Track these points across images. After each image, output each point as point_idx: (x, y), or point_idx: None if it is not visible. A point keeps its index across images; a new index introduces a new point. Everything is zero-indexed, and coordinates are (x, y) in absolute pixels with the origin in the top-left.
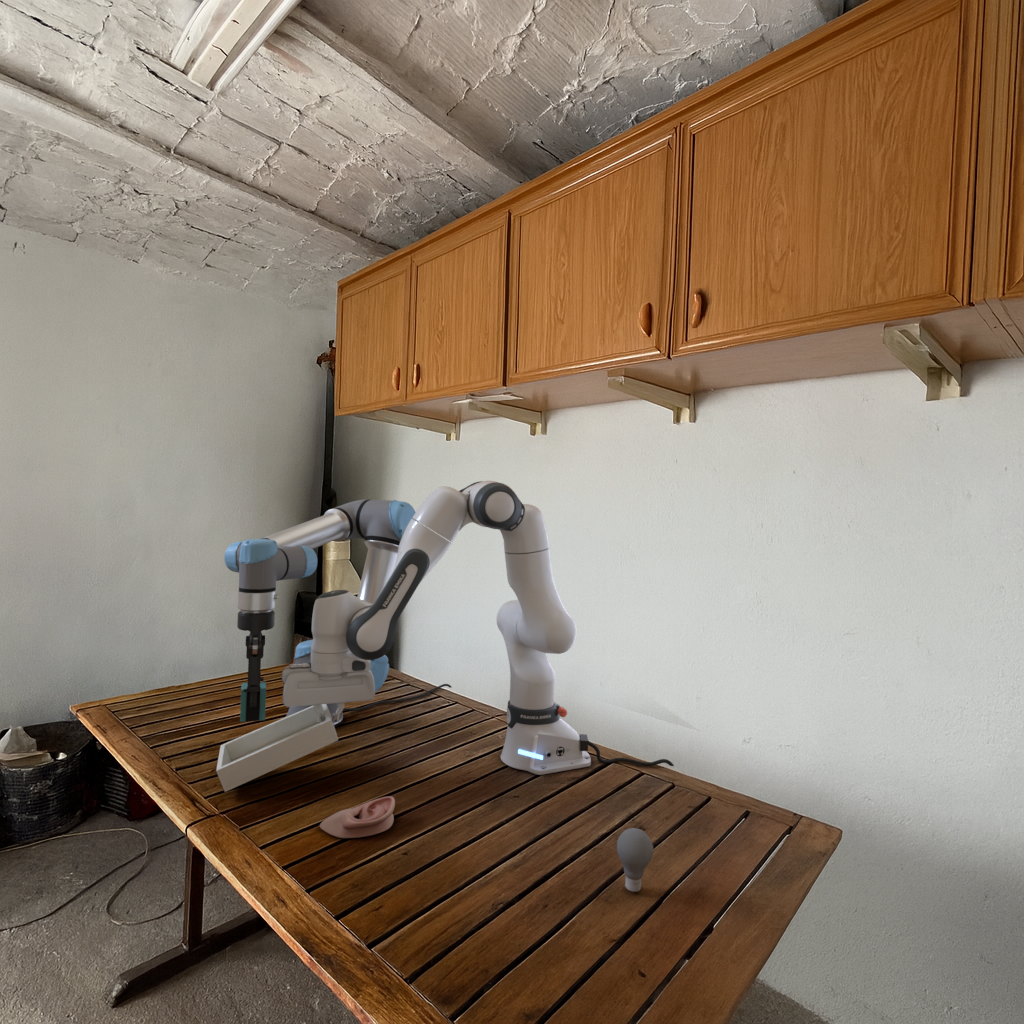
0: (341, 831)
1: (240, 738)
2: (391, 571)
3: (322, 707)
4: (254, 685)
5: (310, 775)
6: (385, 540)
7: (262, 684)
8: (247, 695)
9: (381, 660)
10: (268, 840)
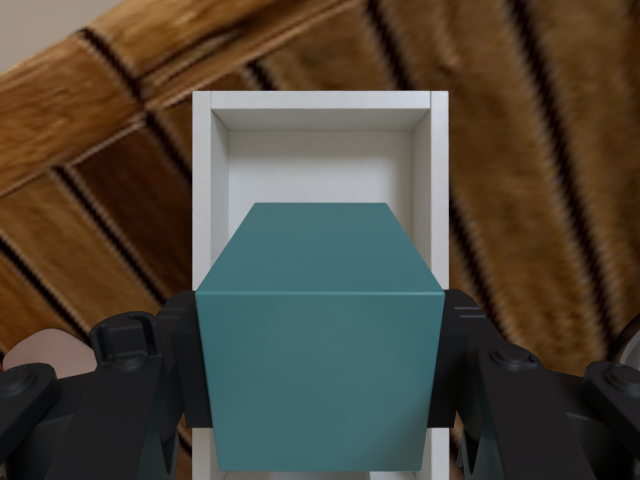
0: (6, 366)
1: (431, 171)
2: None
3: None
4: (4, 467)
5: None
6: None
7: (333, 450)
8: (186, 317)
9: None
10: (3, 229)
